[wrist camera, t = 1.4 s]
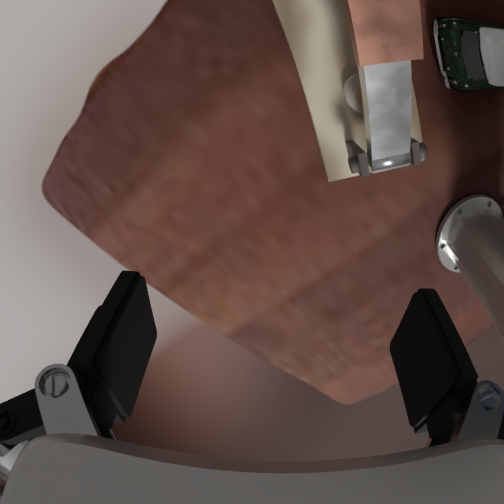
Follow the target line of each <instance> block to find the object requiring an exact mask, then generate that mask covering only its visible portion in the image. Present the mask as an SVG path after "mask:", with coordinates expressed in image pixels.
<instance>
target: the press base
mask: <svg viewBox="0 0 504 504" xmlns="http://www.w3.org/2000/svg"><path fill="white" fill-rule="evenodd" d="M271 1H272V4H273V6H274V9H275V11H276V14H277V17H278V19H279V22H280V25H281V27H282V30H283V33H284V36H285V38H286V41H287V44H288V47H289V50H290V53H291V56H292V58H293V61H294V64H295V68H296V71H297V74H298V77H299V80H300V83H301V86H302V89H303V93H304V96H305V99H306V103H307V106H308V109H309V113H310V116H311V120H312V123H313V127H314V131H315V134H316V138H317V142H318V145H319V149H320V153H321V157H322V161H323V165H324V169H325V173H326V177H327V180H328V182H332V181H336V180H340V179H344V178H349V177H353V176H357V175H360V176H361V177H362V178H364V177H368V176H370V172H372V171H371V169H370V167H369V165H368V161H367V156H366V152H367V143H366V131H365V120H364V114H361V113H359V112H357V111H355V110H353V109H352V108H350V107H349V106H348V105H347V103H346V102H345V100H344V97H343V86H344V83H345V81H346V80H347V79H348V78H349V77H350V76H351V75H353V74H356V73H359V70H358V64H357V63H356V62H355V58H354V52H353V46H352V41H351V35H350V30H349V25H348V20H347V16H346V11H345V6H344V2H343V0H271ZM411 82H412V79H411ZM410 155H411V162H410V163H409V164H412V165H413V166H418V165H421V161H425V160H424V158H427V155H428V153H427V148H426V146H425V144H424V143H423V142H422V135H421V128H420V121H419V115H418V109H417V104H416V98H415V93H414V88H413V83H412V117H411V144H410Z"/></svg>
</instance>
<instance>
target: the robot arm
mask: <svg viewBox="0 0 504 504" xmlns="http://www.w3.org/2000/svg"><path fill="white" fill-rule="evenodd" d="M435 246H436V253H437V255H438V258H439V260H440V261H441V263H442V264H443V265H444V266H445V267H446V268H447V269H449V270H450V271H453V272H461V273H462V275H463V276H464V278H465V279H466V281H467V282H468V283H469V285H470V286H471V288H472V289H473V291H474V293H475V294H476V296H477V297H478V299H479V300H480V302H481V303H482V305H483V307H484V308H485V310H486V312H487V313H488V315H489V317H490V318H491V320H492V322H493V323H494V325H495V327H496V328H497V330H498V332H499V334H500V336H501V337H502V339H503V340H504V218H503V213H502V211H501V208H500V207H499V205H498V204H497V203H496V202H495V201H494V200H493V199H492V198H490V197H488V196H486V195H482V194H475V195H471V196H468V197H466V198H464V199H462V200H460V201H459V202H458V203H456V204H455V205H454V206H453V207H452V208H451V209H450V210H449V211H448V213H447V214H446V215H445V217H444V218H443V220H442V222H441V224H440V226H439V229H438V232H437V236H436V245H435ZM156 337H157V330H156V326H155V322H154V318H153V313H152V309H151V304H150V300H149V295H148V291H147V286H146V281H145V278H144V277H143V276H140V273H139V272H135V271H122V272H121V273H120V275H119V276H118V278H117V280H116V282H115V283H114V285H113V287H112V288H111V290H110V292H109V294H108V295H107V297H106V299H105V300H104V302H103V304H102V305H101V306H99V307H98V308H97V310H96V311H95V313H94V315H93V316H92V318H91V320H90V322H89V324H88V325H87V327H86V329H85V331H84V333H83V335H82V336H81V338H80V340H79V342H78V344H77V346H76V348H75V350H74V352H73V354H72V356H71V358H70V360H69V362H68V364H67V366H66V365H63V364H53V365H49V366H47V367H45V368H44V369H43V370H42V371H41V372H40V373H39V374H38V376H37V378H36V381H35V388H34V389H32V390H30V391H27V392H25V393H23V394H21V395H19V396H16V397H14V398H12V399H10V400H8V401H5V402H3V403H1V404H0V504H504V390H503V391H502V390H501V388H500V387H499V386H498V385H497V384H495V383H494V382H491V381H481V382H480V383H477V380H476V379H477V378H478V375H477V373H476V371H475V368H474V366H473V364H472V361H471V359H470V357H469V355H468V352H467V350H466V348H465V346H464V344H463V342H462V340H461V338H460V336H459V334H458V332H457V330H456V328H455V326H454V324H453V322H452V320H451V318H450V316H449V314H448V312H447V310H446V308H445V306H444V305H443V303H442V301H441V299H440V297H439V295H438V294H437V292H436V290H435V289H424V288H421V289H419V290H418V291H417V292H416V293H414V294H413V296H412V298H411V300H410V303H409V305H408V307H407V309H406V312H405V314H404V316H403V318H402V320H401V322H400V324H399V326H398V329H397V331H396V333H395V335H394V337H393V339H392V341H391V343H390V353H391V356H392V359H393V363H394V366H395V370H396V373H397V377H398V380H399V384H400V388H401V392H402V395H403V399H404V403H405V407H406V411H407V415H408V419H409V423H410V425H411V426H412V427H414V431H415V434H416V433H422V432H427V431H428V433H429V438H428V440H427V442H426V444H425V446H424V448H422V449H416V450H411V451H405V452H399V453H392V454H387V455H378V456H371V457H362V458H351V459H339V460H322V461H258V460H240V459H228V458H217V457H208V456H200V455H193V454H186V453H179V452H173V451H168V450H162V449H156V448H150V447H146V446H141V445H136V444H131V443H127V442H123V441H118V440H115V437H114V435H113V433H112V431H111V428H112V426H113V423H114V422H118V423H122V424H124V423H125V420H126V417H130V416H131V415H132V412H133V409H134V405H135V402H136V399H137V396H138V392H139V390H140V386H141V383H142V380H143V377H144V374H145V371H146V367H147V365H148V362H149V359H150V356H151V353H152V350H153V347H154V344H155V341H156Z"/></svg>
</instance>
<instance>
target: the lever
mask: <svg viewBox="0 0 504 504" xmlns="http://www.w3.org/2000/svg"><path fill="white" fill-rule="evenodd" d="M343 2H344V6H345V11H346V16H347V20H348V25H349V30H350V35H351V41H352V46H353V52H354V58H355V62H356V63H357V64H358V70H359V77H360V84H361V92H362V101H363V110H364V120H365V131H366V143H367V152H366V156H367V161H368V165H369V167H370V169H371V171H372V174H373V173H377V172H382V171H386V170H391V169H395V168H400V167H404V166H409V163H410V162H411V155H410V144H411V117H412V82H411V60H417V59H423V37H422V23H421V12H420V2H419V0H343Z"/></svg>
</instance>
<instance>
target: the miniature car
mask: <svg viewBox="0 0 504 504" xmlns="http://www.w3.org/2000/svg"><path fill="white" fill-rule="evenodd" d="M437 20H438V24H437ZM433 36H434V38H435V44H436V50H437V56H438V60H439V65H440V69H441V74H443V77H444V80H445V84H446V86H447V87H448V88H450V86H451V88H450V89H452V90H454V91H465V92H467V91H473V90H501V91H504V25H501V24H496V23H490V22H478V21H468V20H463V19H461V18H457V17H439V18H437V19H435V20H434V33H433ZM437 36H438V38H437ZM438 40H439V44H438ZM439 45H440V49H439ZM440 50H441V55H440ZM441 56H442V61H441ZM442 62H443V66H444V70H445V71H443V66H442ZM448 81H449V82H448ZM449 83H450V86H449Z"/></svg>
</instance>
